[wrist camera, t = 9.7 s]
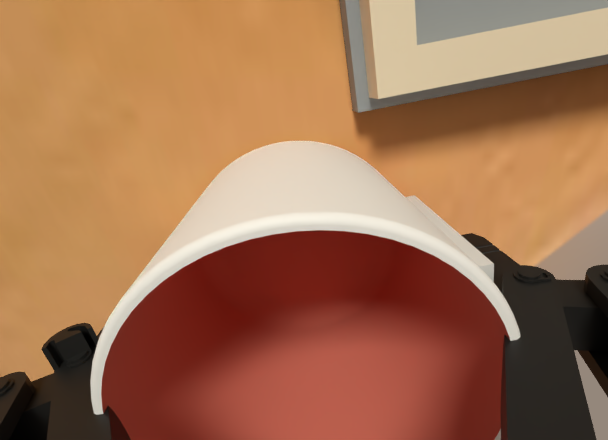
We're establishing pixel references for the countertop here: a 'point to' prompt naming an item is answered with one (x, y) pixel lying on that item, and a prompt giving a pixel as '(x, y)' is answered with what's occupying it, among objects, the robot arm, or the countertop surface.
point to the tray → (464, 45)
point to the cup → (305, 315)
